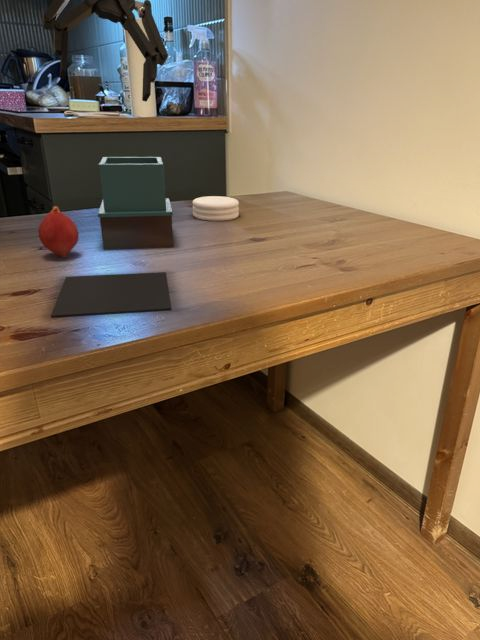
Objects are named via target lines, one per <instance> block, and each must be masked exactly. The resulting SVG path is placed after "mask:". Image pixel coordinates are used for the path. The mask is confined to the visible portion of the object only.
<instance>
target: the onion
mask: <svg viewBox="0 0 480 640" xmlns="http://www.w3.org/2000/svg"><path fill="white" fill-rule="evenodd" d="M38 238H39V241H40V242H41V244H42V246H44V247H45V248H46V249H47V250H48V251H49V252H51V253H53V254H55V255H56V256H58V257H59V258H65V257H67V256H68V254H70V252H71V251H72V250H73V249H74V248H75V247H76V245H77V244H78V242H79V230H78V228H77V225H76V224H75V222H74V221H73V219H71V218H70V217H69V216H68V215H67V214H64V213H63V212H61V210H60V209H59V206H52V209H51V210H50V211H49V212H48V213H47V214H46V215H45V216H44V217H43V219H42V220H41V222H40V224H39V227H38Z"/></svg>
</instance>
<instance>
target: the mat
mask: <svg viewBox="0 0 480 640" xmlns="http://www.w3.org/2000/svg"><path fill="white" fill-rule="evenodd" d="M168 284H169V283H168V277H167V272H165V271H161V272H159V271H158V272H140V273H138V272H137V273H117V274H115V273H114V274H96V275H76V276H75V275H73V276H72V275H71V276H66V277H65V278H64V281H63V283H62V285H61V289H60V290H59V293H58V296H57V298H56V301H55V304H54V307H53V309H52V311H51V315H50V318H52V319H56V318H72V317H73V318H74V317H87V316H88V317H90V316H103V315H120V314H122V315H123V314H135V313H136V314H137V313H139V314H140V313H152V312H169V311H172V303H171V297H170V289H169V285H168Z"/></svg>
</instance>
